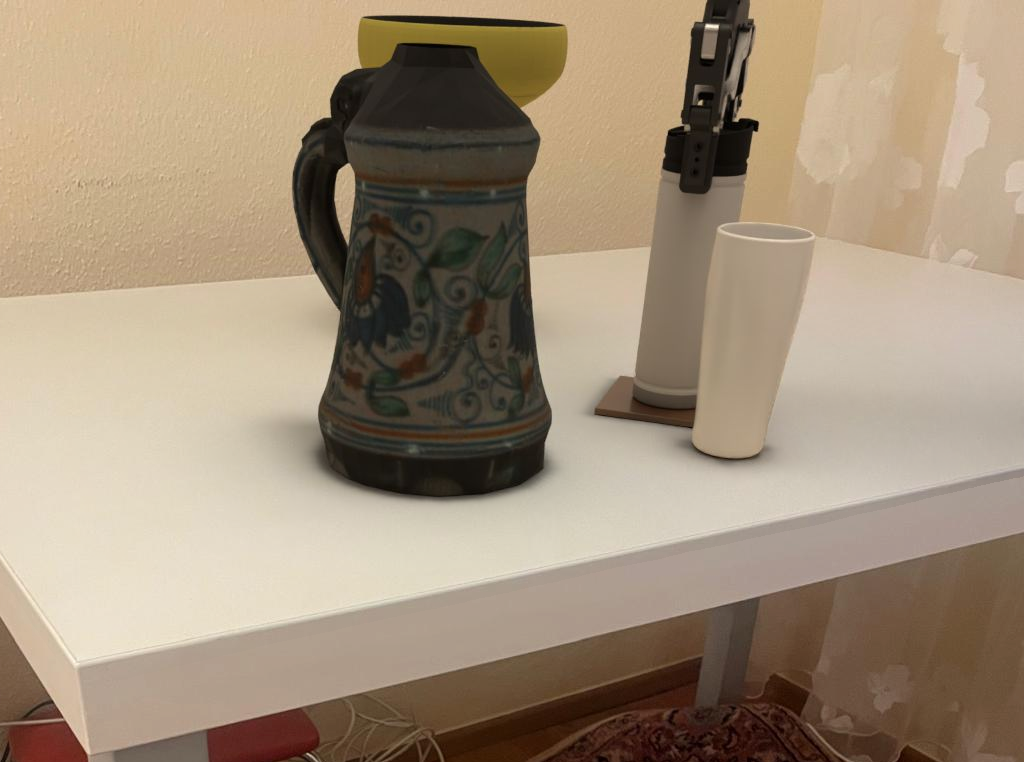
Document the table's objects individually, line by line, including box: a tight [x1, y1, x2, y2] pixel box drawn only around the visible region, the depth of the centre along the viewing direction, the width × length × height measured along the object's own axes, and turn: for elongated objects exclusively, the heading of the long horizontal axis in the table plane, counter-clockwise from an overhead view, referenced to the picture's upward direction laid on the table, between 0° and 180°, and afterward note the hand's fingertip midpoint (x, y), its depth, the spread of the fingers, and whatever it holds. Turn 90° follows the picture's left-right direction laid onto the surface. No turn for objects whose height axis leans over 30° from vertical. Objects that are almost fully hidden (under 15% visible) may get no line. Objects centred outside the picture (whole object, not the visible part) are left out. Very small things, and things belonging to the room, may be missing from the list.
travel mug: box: [632, 117, 760, 410], centre depth 92 cm, size 6×7×20 cm
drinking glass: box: [691, 221, 817, 459], centre depth 85 cm, size 7×7×15 cm
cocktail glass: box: [357, 14, 569, 109], centre depth 109 cm, size 18×18×25 cm
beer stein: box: [291, 43, 553, 497], centre depth 79 cm, size 16×19×25 cm
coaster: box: [593, 375, 696, 428], centre depth 98 cm, size 10×10×1 cm
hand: (701, 185), depth 89 cm, fingers closed on travel mug, 6 cm apart
